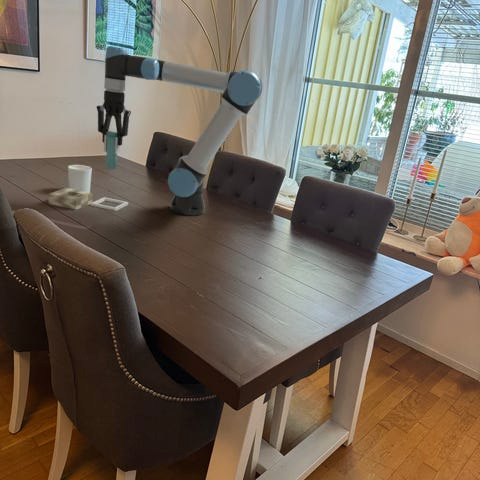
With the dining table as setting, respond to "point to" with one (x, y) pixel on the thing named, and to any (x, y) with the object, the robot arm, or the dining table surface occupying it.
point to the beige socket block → (70, 198)
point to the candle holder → (79, 177)
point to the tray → (96, 204)
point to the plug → (111, 150)
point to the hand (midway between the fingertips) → (111, 152)
